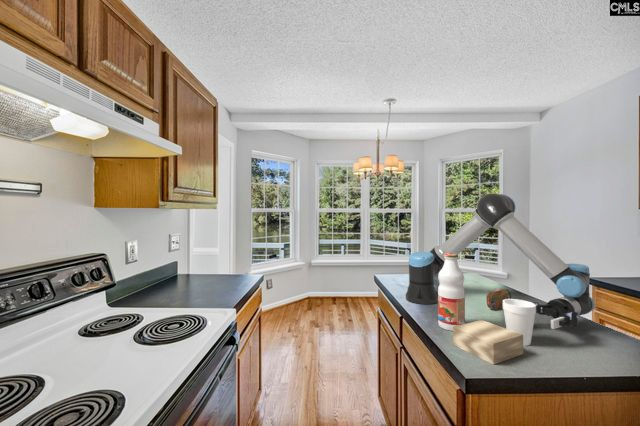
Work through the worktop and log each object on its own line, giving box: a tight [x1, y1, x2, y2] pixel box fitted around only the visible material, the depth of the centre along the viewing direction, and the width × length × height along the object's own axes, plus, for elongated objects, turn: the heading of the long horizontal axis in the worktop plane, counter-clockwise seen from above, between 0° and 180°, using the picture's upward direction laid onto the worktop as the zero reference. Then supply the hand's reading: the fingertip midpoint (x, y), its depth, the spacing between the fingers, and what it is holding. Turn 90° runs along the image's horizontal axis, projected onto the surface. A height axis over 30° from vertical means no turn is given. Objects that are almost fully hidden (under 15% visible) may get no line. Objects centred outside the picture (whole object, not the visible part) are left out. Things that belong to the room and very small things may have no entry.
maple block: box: [452, 319, 524, 365], centre depth 94 cm, size 14×14×6 cm
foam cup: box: [502, 298, 537, 347], centre depth 99 cm, size 10×9×13 cm
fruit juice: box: [437, 253, 466, 332], centre depth 112 cm, size 9×9×28 cm
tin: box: [486, 288, 512, 311], centre depth 134 cm, size 15×3×8 cm, turn 117°
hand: (529, 317), depth 101 cm, fingers open, 13 cm apart
